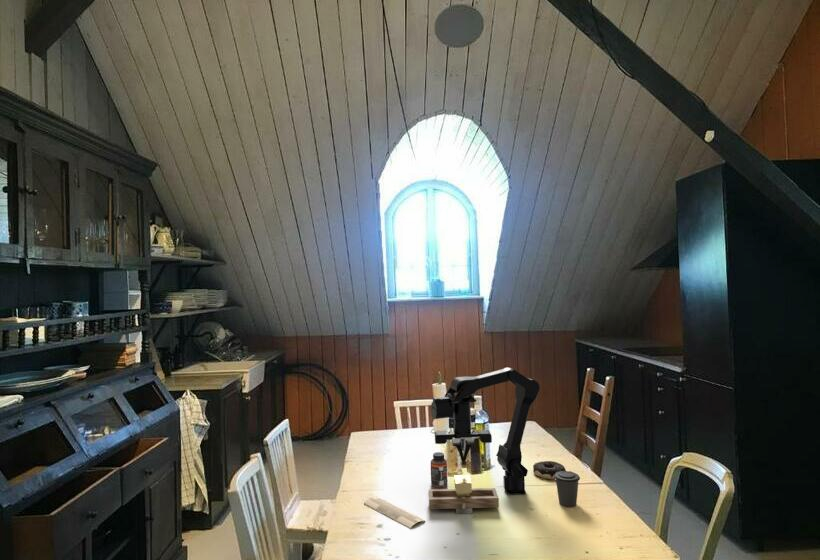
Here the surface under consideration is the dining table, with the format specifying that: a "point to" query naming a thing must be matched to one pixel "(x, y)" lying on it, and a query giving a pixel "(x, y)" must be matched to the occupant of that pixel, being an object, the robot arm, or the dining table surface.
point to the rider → (463, 485)
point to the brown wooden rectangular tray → (463, 499)
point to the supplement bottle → (438, 470)
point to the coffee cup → (567, 488)
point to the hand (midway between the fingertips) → (463, 462)
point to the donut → (547, 469)
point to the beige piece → (393, 511)
